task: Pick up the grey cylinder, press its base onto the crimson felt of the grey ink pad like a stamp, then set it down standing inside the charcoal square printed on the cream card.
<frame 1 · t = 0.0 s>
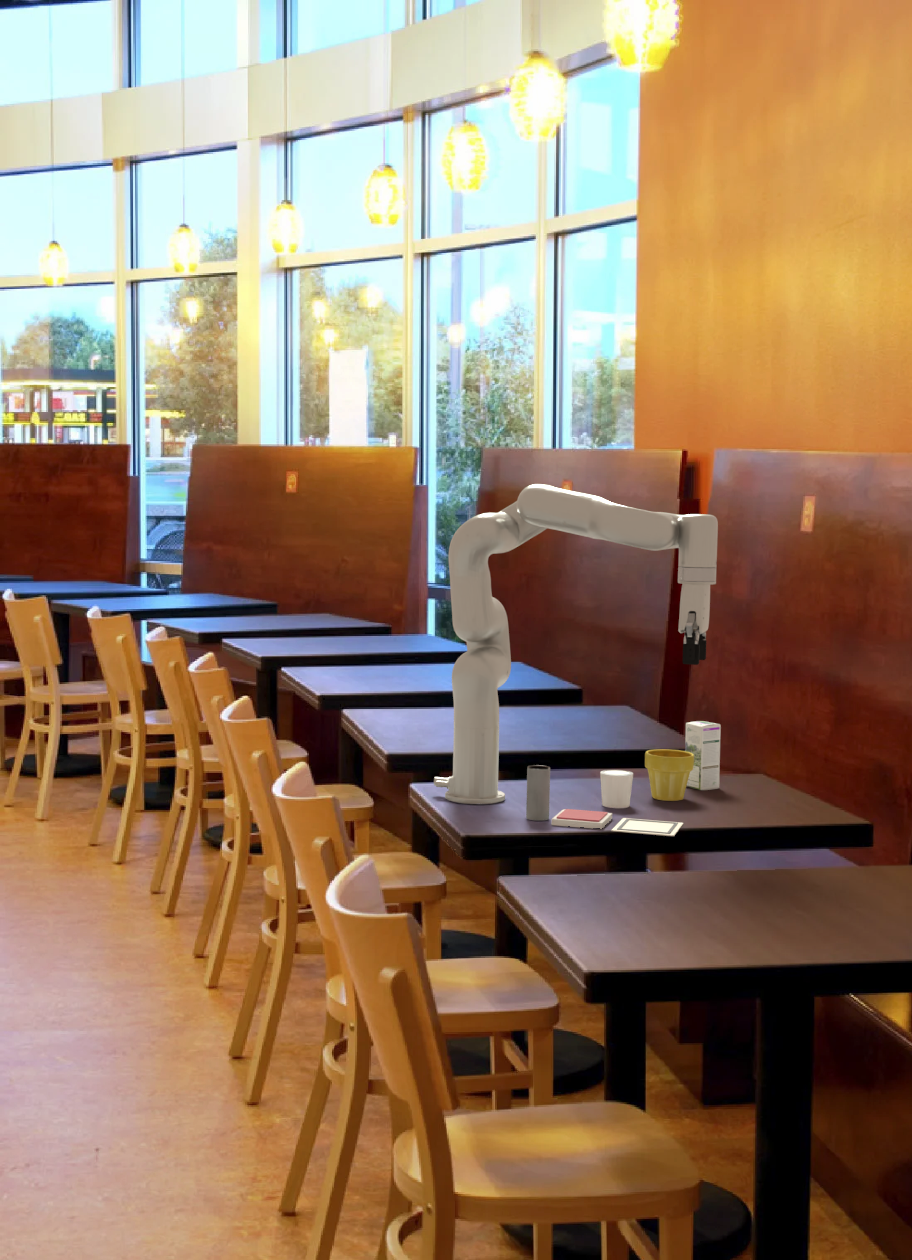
hand: (694, 661, 306), 31 cm above the table, tool pointing down, fingers open, 9 cm apart
syrup box: (701, 788, 340), on the table
ink pad: (582, 822, 301), on the table
white cup: (615, 806, 318), on the table
print card: (647, 827, 297), on the table
plant pot: (668, 799, 327), on the table
grey cylinder: (537, 819, 303), on the table
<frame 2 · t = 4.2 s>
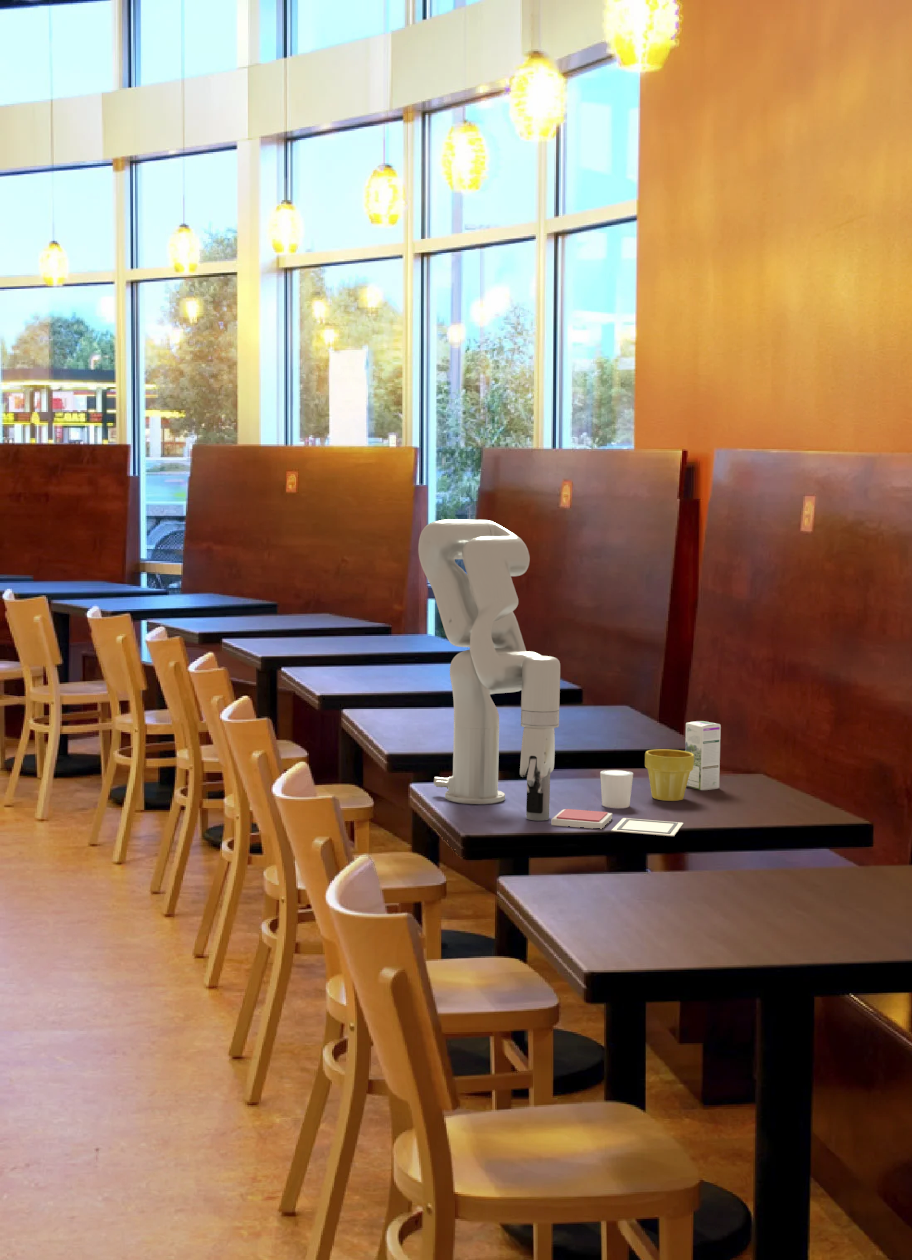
hand: (537, 809, 303), 2 cm above the table, tool pointing down, fingers closed on grey cylinder, 4 cm apart
grey cylinder: (537, 819, 303), on the table, touching gripper
everything else where it was.
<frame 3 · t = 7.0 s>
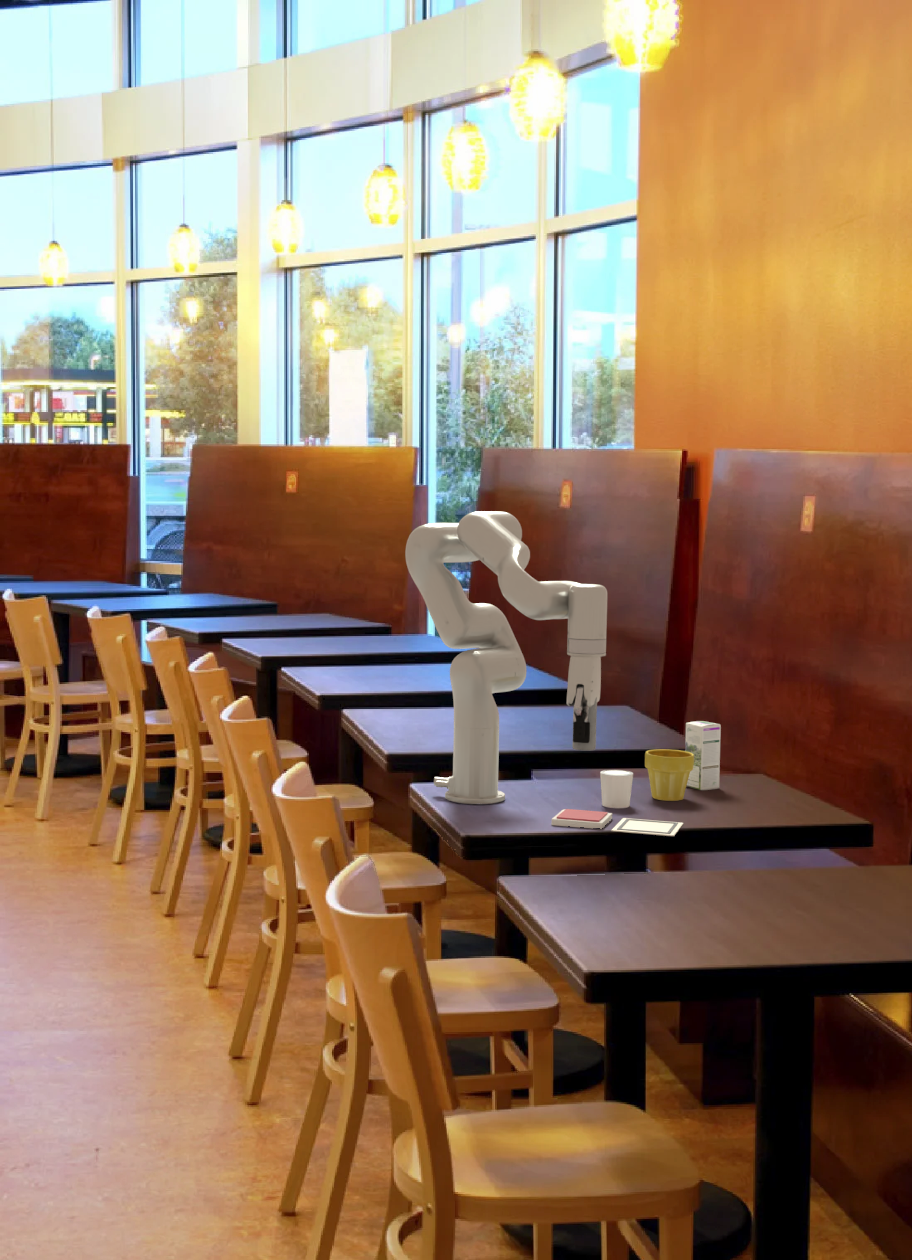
hand: (584, 739, 299), 16 cm above the table, tool pointing down, fingers closed on grey cylinder, 4 cm apart
grey cylinder: (583, 750, 299), point 14 cm above the table, touching gripper
everything else where it was.
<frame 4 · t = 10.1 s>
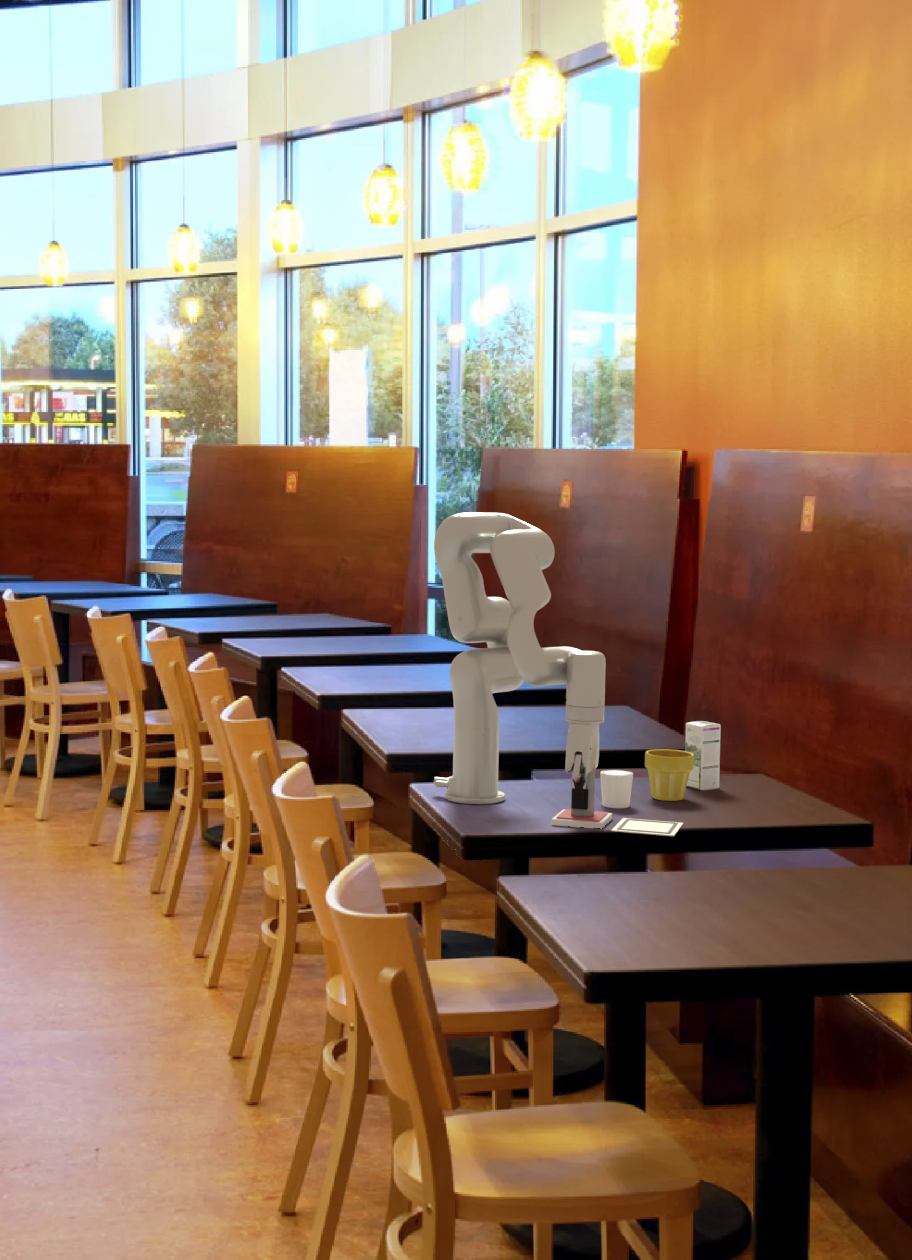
hand: (582, 805, 300), 3 cm above the table, tool pointing down, fingers closed on grey cylinder, 4 cm apart
grey cylinder: (582, 815, 300), point 1 cm above the table, touching gripper, ink pad
everything else where it was.
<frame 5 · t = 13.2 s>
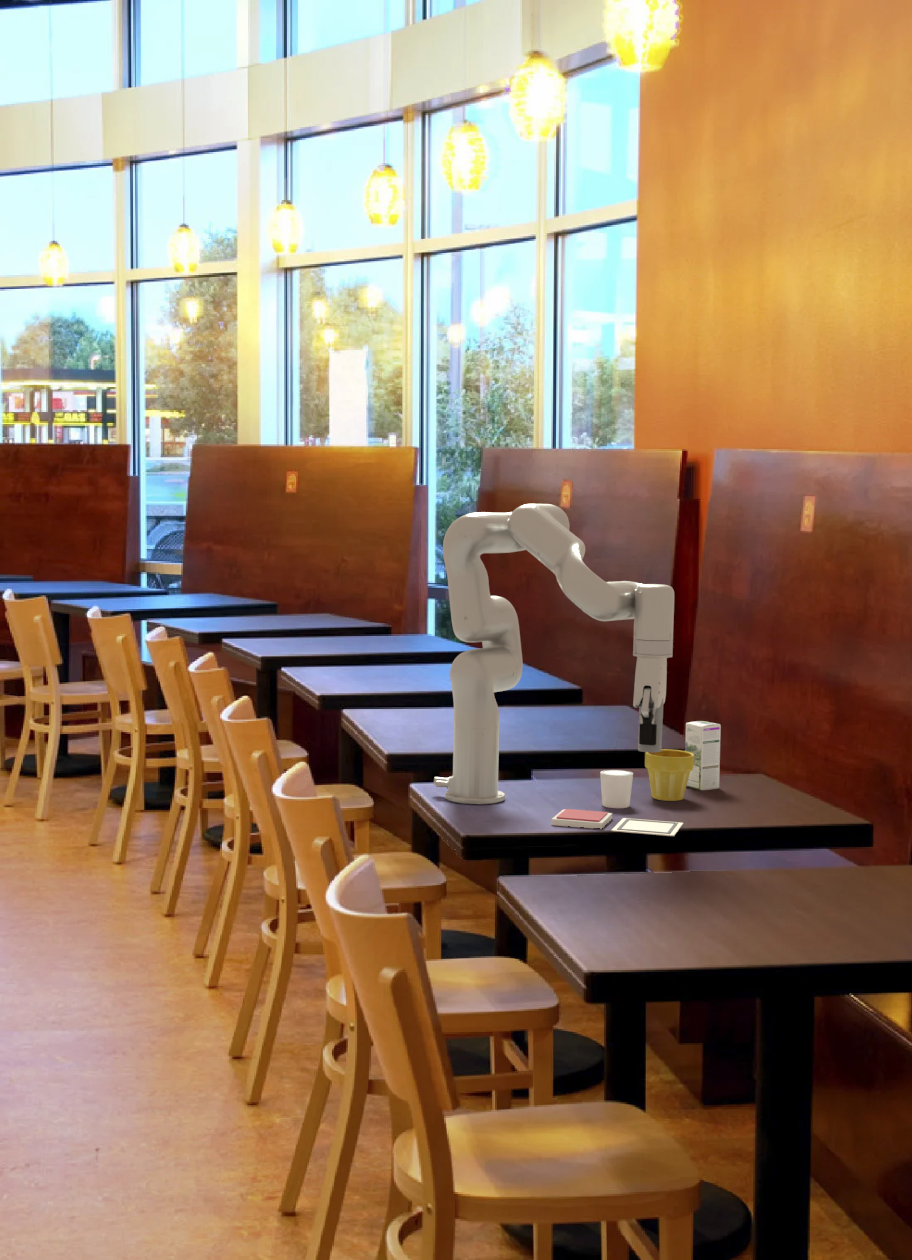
hand: (650, 741, 295), 17 cm above the table, tool pointing down, fingers closed on grey cylinder, 4 cm apart
grey cylinder: (649, 751, 296), point 15 cm above the table, touching gripper
everything else where it was.
when the fingers open (3 cm above the table, at t = 16.0 s): grey cylinder stays where it is, resting on print card.
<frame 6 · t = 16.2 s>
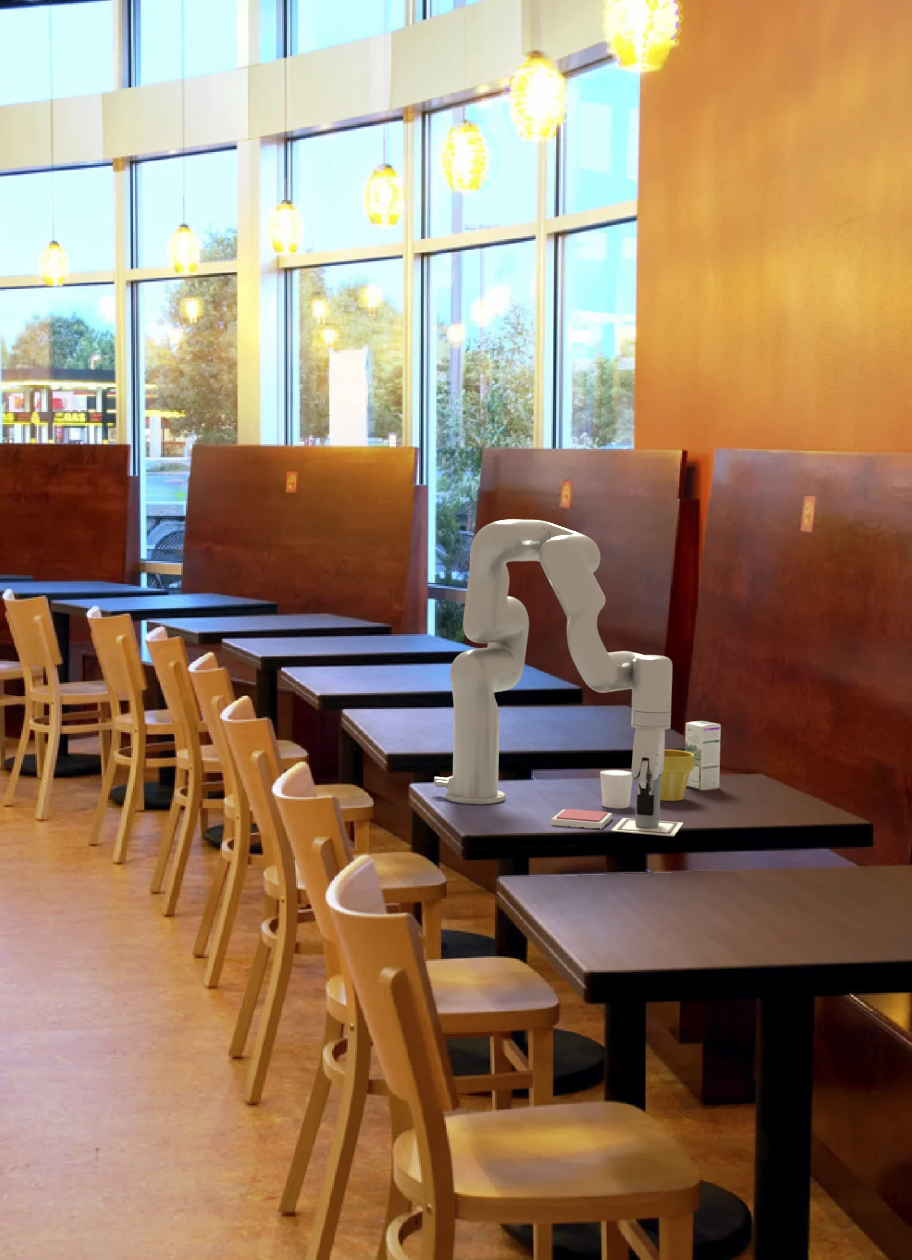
hand: (648, 810, 297), 3 cm above the table, tool pointing down, fingers open, 6 cm apart
grey cylinder: (646, 826, 297), resting on print card
everything else where it was.
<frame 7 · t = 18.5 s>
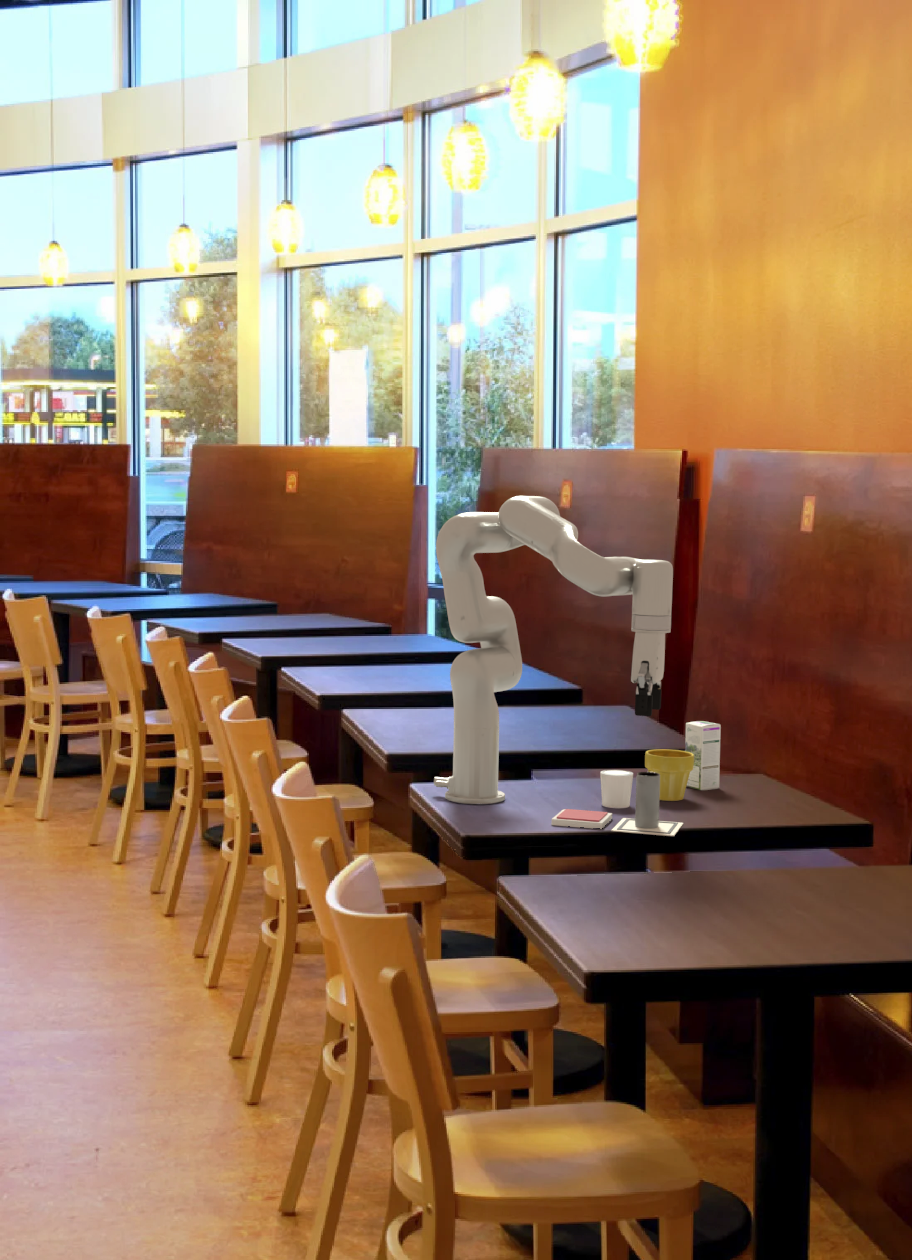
hand: (647, 712, 296), 22 cm above the table, tool pointing down, fingers open, 9 cm apart
nothing on the table moved.
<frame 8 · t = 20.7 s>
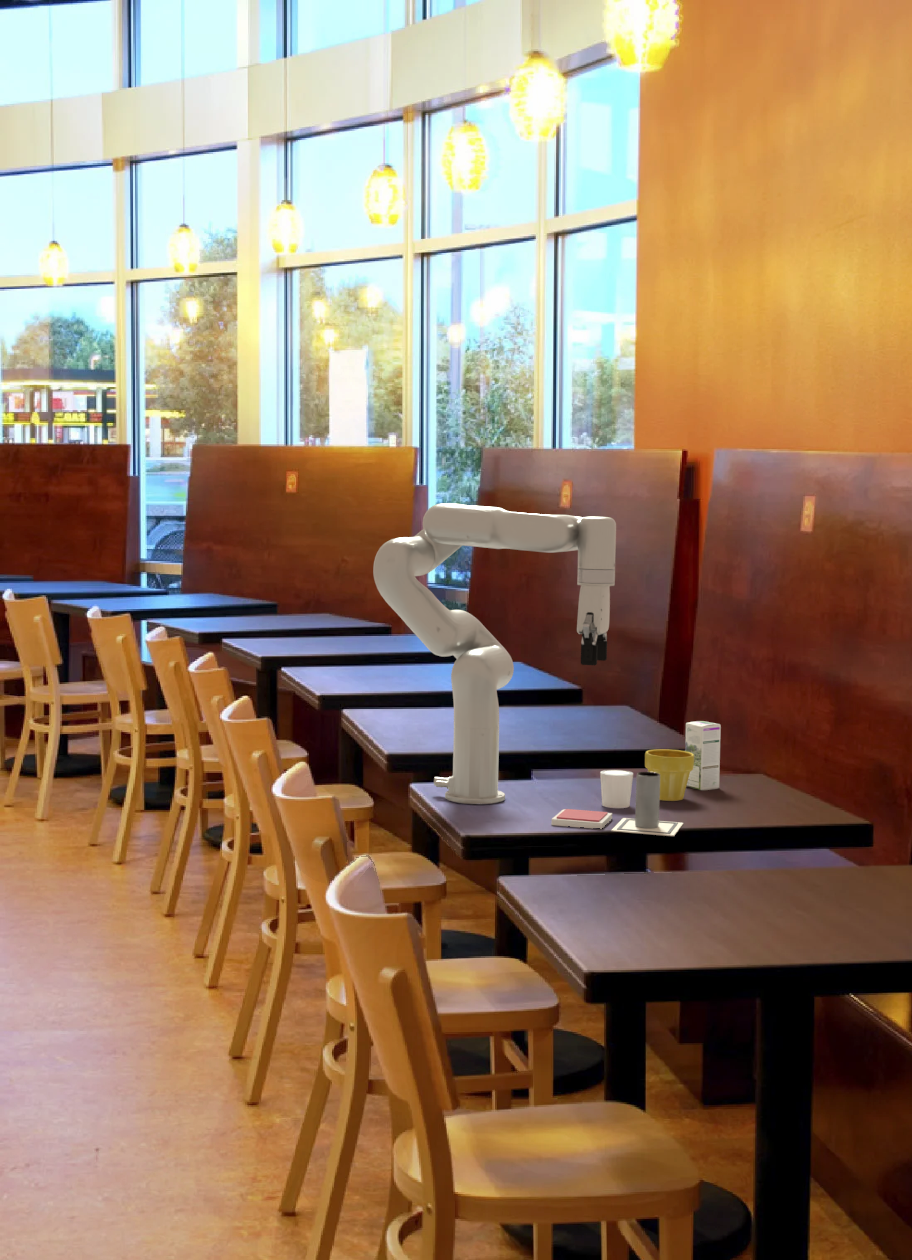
hand: (593, 662, 310), 30 cm above the table, tool pointing down, fingers open, 9 cm apart
nothing on the table moved.
at the end: grey cylinder 0.2 cm off-centre on the print card, point 0.0 cm above the print card's base; grey cylinder tilted 0°; the gripper is holding nothing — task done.
